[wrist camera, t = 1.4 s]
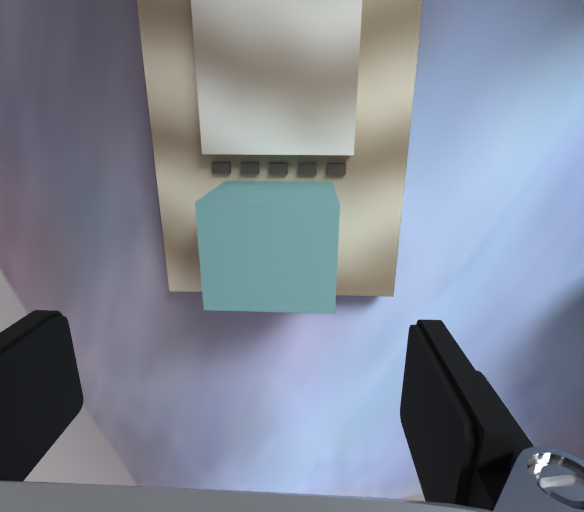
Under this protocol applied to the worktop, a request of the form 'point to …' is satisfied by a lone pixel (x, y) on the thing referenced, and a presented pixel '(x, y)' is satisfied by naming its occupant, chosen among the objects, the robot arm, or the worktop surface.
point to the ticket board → (283, 115)
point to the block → (269, 246)
